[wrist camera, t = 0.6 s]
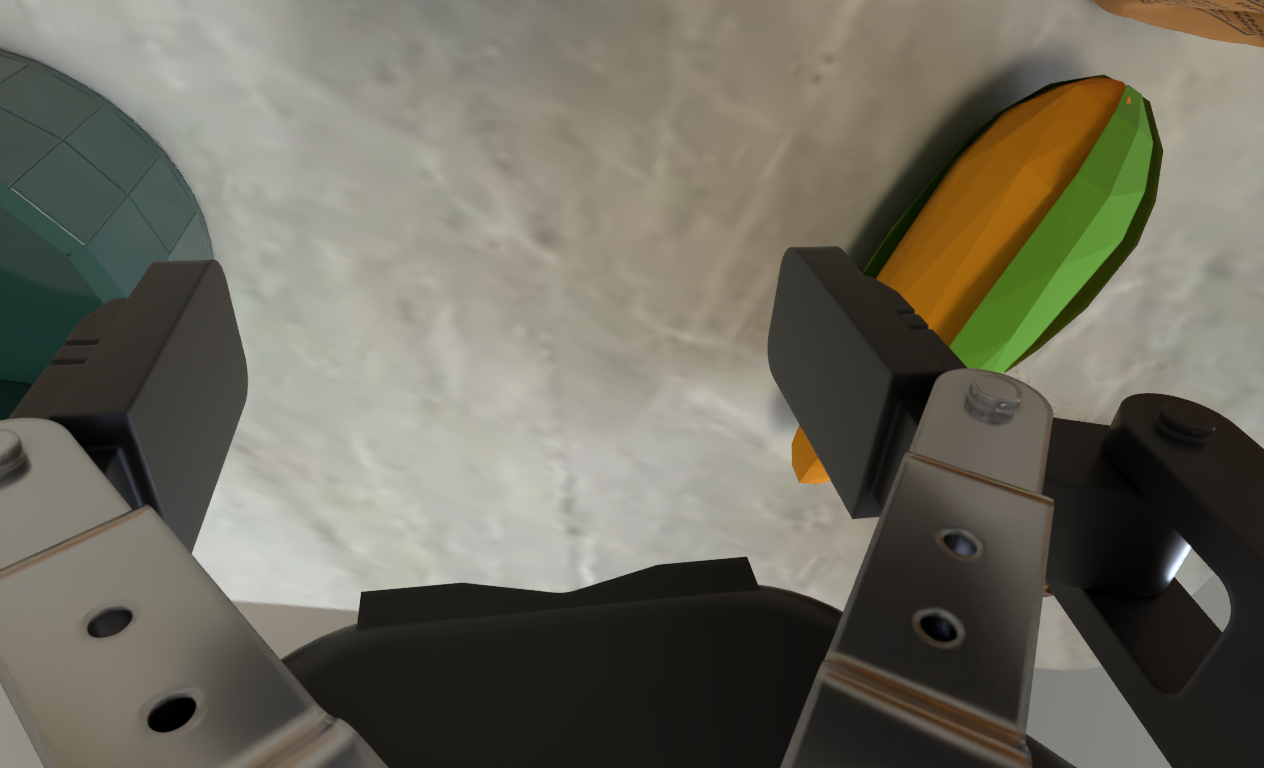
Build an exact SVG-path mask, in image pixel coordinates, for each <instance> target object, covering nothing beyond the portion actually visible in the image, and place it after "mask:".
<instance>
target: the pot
mask: <svg viewBox="0 0 1264 768" xmlns="http://www.w3.org/2000/svg"><path fill="white" fill-rule="evenodd" d="M178 260H213V257H212V250H211V243H210V238H209V235H208V231H207V228H206V224H205V221H204V218H203V216H202V213H201V211H200V209H199V207H198V204H197V202H196V200H195V198H194V195H193V194H192V192H191V191H190V189H189V187H188V186H187V184H186V182H185V181H184V179H183V177H182V176H181V174H180V172H179V171H178V170H177V169H176V167H175V166H174V165H173V163H172V162H171V161H170V159H169V158H168V157H167V156H166V154H165V153H164V152H163V150H162V149H161V148H160V147H159V146H158V145H157V144H156V143H155V142H154V141H153V140H152V139H151V138H150V137H149V136H148V135H147V134H146V133H145V132H144V131H143V130H142V129H141V128H140V127H139V126H138V125H137V124H135V123H134V122H133V121H132V120H131V119H130V118H128V117H127V116H126V115H125V114H124V113H123V112H121V111H120V110H119V109H118V108H116V107H115V106H114V105H112V104H111V103H109V102H108V101H106V100H105V99H103V98H102V97H101V96H99V95H98V94H96V93H95V92H93V91H92V90H90V89H89V88H87V87H85V86H83V85H81V84H80V83H78V82H76V81H74V80H73V79H71V78H69V77H67V76H66V75H64V74H62V73H60V72H57V71H55V70H53V69H51V68H48V67H46V66H44V65H42V64H39V63H37V62H35V61H33V60H30V59H27V58H24V57H21V56H18V55H15V54H12V53H9V52H6V51H3V50H0V420H7V419H8V418H9V416H10V415H11V414H12V412H13V411H14V410H15V408H16V407H17V405H18V404H19V403H20V401H21V400H22V399H23V397H24V396H25V395H26V393H27V392H28V391H29V389H30V388H31V387H32V385H33V384H34V382H35V381H36V380H37V378H38V377H39V376H40V374H41V373H42V372H43V370H44V369H45V368H46V366H49V365H51V359H52V358H53V357H54V355H55V354H56V353H57V351H58V350H59V349H60V347H61V346H65V340H66V339H67V338H68V336H69V335H70V334H71V332H72V331H73V330H74V328H75V327H76V326H77V324H78V323H79V321H80V320H81V319H82V318H83V317H85V316H87V315H88V314H90V313H91V312H93V311H94V310H96V309H98V308H99V307H101V306H102V305H104V304H105V303H107V302H109V301H110V300H112V299H113V298H129V296H130V295H131V293H132V292H133V290H134V289H135V287H136V286H137V284H138V283H139V281H140V280H141V278H142V277H143V275H144V274H145V272H146V271H147V269H148V268H149V266H150V265H151V264H152V263H153V262H154V261H178Z"/></svg>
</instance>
